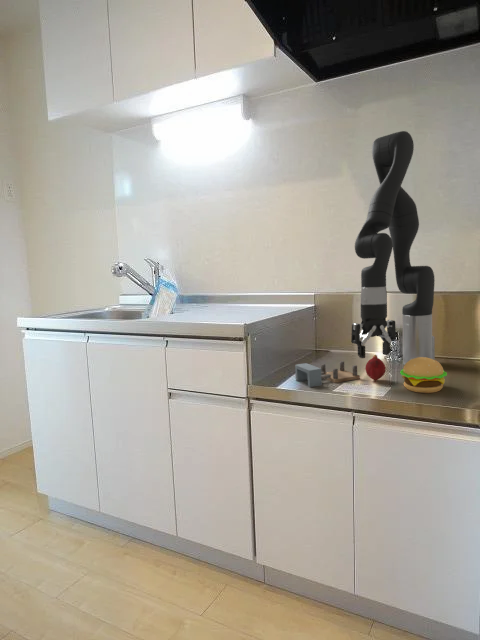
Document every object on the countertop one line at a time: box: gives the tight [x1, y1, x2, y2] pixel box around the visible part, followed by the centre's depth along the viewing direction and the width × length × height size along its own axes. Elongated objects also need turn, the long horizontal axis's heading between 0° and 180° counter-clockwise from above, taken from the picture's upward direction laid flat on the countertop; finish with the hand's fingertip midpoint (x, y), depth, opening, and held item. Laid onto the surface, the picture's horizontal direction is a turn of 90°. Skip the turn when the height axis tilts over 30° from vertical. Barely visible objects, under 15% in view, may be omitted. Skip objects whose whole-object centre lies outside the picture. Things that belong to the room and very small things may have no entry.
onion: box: [365, 354, 387, 382], centre depth 134 cm, size 6×6×8 cm
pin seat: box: [320, 360, 361, 384], centre depth 139 cm, size 13×9×4 cm
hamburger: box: [399, 357, 448, 394], centre depth 123 cm, size 12×12×9 cm
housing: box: [294, 362, 323, 388], centre depth 136 cm, size 4×9×5 cm, turn 21°
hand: (374, 356), depth 133 cm, fingers open, 8 cm apart
